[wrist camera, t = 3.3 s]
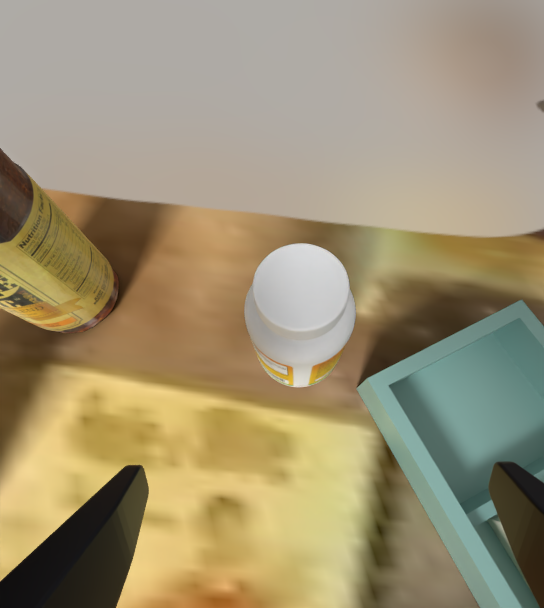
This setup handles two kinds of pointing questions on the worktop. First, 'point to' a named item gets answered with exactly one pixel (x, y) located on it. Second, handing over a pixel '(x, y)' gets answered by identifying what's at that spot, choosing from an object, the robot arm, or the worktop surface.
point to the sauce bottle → (48, 260)
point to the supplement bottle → (300, 313)
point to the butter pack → (504, 540)
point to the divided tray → (468, 436)
